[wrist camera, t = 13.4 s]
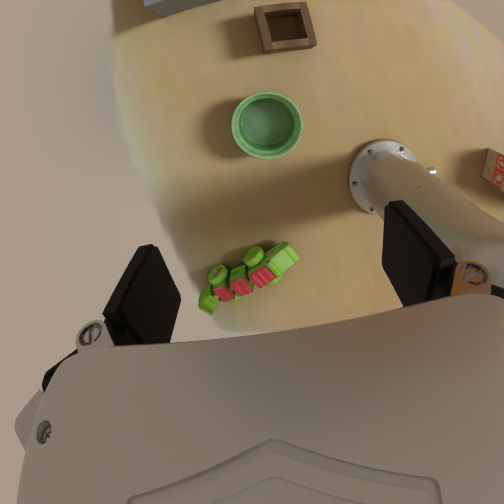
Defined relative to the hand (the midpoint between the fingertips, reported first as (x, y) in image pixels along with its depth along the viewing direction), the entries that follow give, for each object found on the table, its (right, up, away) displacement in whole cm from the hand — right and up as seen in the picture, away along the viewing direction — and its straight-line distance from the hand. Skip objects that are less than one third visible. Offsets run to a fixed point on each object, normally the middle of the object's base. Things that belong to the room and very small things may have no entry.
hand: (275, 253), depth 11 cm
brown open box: (+3, +29, +17) cm, 34 cm away
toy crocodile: (-2, -3, +39) cm, 39 cm away
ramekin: (+1, +18, +25) cm, 31 cm away
